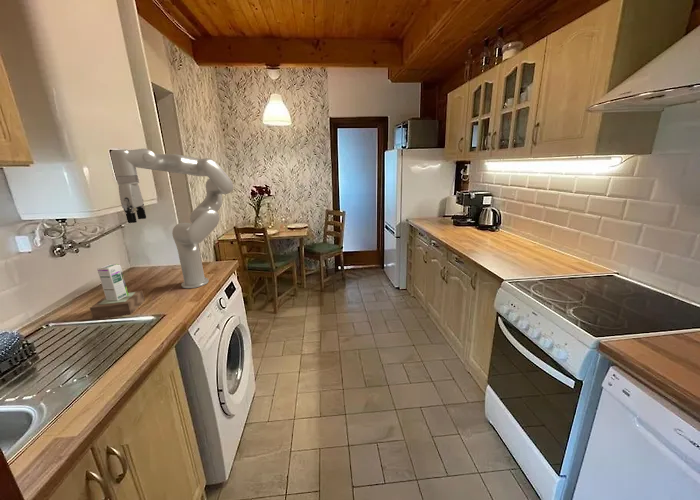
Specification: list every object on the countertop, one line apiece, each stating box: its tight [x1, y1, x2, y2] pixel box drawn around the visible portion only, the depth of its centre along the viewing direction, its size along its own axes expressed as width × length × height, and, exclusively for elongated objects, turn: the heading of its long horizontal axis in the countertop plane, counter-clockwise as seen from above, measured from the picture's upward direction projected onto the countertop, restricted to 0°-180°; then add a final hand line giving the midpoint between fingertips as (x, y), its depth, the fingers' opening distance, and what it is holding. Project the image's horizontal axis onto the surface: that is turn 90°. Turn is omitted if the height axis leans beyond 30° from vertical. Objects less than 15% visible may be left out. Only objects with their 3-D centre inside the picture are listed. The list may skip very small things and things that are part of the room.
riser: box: [89, 290, 145, 320], centre depth 137 cm, size 14×14×5 cm
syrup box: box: [97, 263, 129, 301], centre depth 135 cm, size 6×6×14 cm
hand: (137, 220), depth 139 cm, fingers open, 9 cm apart
